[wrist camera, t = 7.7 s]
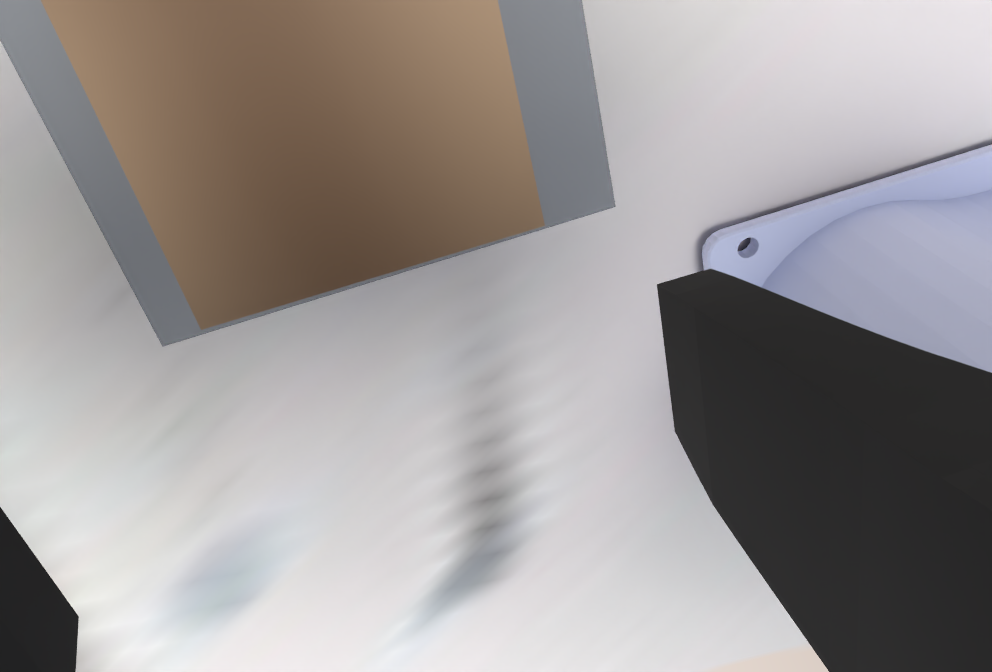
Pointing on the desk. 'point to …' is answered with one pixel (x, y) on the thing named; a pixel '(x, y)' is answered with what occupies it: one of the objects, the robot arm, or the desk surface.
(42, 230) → the desk surface
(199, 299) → the block
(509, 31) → the plinth
